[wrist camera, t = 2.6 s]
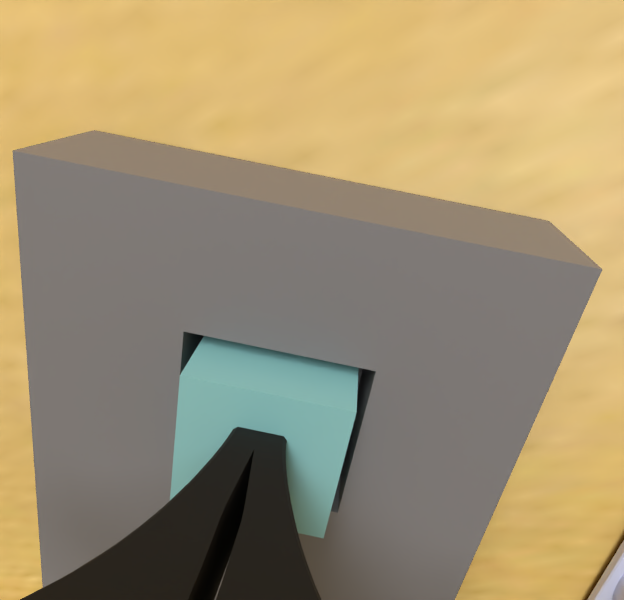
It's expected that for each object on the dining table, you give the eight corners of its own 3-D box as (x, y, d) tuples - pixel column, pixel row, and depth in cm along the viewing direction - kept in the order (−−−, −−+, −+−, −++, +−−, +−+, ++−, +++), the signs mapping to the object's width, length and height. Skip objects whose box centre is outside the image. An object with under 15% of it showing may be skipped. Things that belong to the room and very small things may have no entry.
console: (548, 221, 16) (602, 269, 12) (362, 707, 27) (361, 808, 23) (94, 130, 16) (12, 150, 12) (95, 648, 27) (53, 738, 23)
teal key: (359, 346, 16) (356, 412, 13) (331, 459, 17) (323, 538, 15) (215, 317, 16) (180, 375, 13) (202, 432, 18) (169, 505, 15)
